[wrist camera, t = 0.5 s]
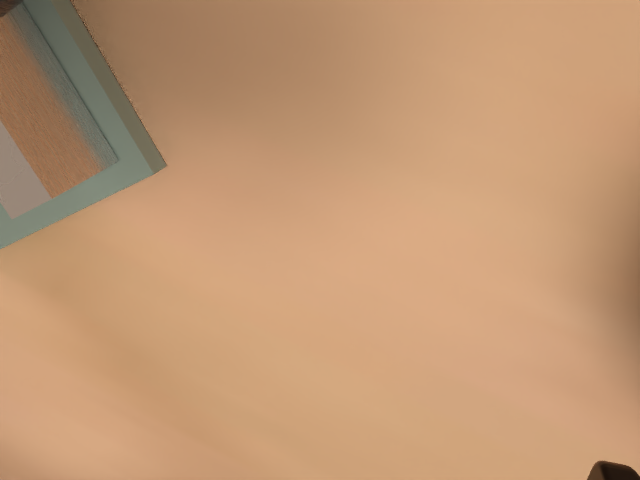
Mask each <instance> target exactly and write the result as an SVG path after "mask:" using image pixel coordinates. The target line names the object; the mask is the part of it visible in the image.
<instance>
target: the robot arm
mask: <svg viewBox="0 0 640 480" xmlns="http://www.w3.org/2000/svg"><path fill="white" fill-rule="evenodd" d="M587 480H640V476H639V475H638V474H637V473H636V471H635V470H633V469H632V468H631V467H629V466H626V465H622V464H617V463H612V462H607V461H598V462H596V463H595V464H594V466H593V468H592V470H591V472H590V474H589V476H588V478H587Z"/></svg>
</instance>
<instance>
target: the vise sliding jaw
mask: <svg viewBox="0 0 640 480" xmlns="http://www.w3.org/2000/svg"><path fill="white" fill-rule="evenodd" d="M23 1H25V0H0V203H1V204H2V206H3V207H4V209H5V210H6V212H7V213H8V214H9V216H10V217H11V219H14V218H16V217H18V216H20V215H22V214H24V213H26V212H27V211H29V210H31V209H33V208H35V207H37V206H39V205H41V204H43V203H45V202H47V201H49V200H51V199H53V198H55V197H56V196H58V195H60V194H62V193H63V192H65V191H67V190H69V189H71V188H72V187H74V186H76V185H78V184H80V183H81V182H83V181H85V180H87V179H88V178H90V177H92V176H94V175H96V174H97V173H99V172H101V171H103V170H104V169H106V168H108V167H110V166H112V165H113V164H115V163H117V162H119V160H118V159H117V157H116V155H115V154H114V152H113V150H112V149H111V147H110V146H109V144H108V142H107V141H106V139H105V137H104V136H103V134H102V132H101V131H100V129H99V128H98V126H97V124H96V123H95V121H94V119H93V118H92V116H91V114H90V113H89V111H88V110H87V108H86V106H85V105H84V103H83V101H82V100H81V98H80V96H79V95H78V93H77V91H76V90H75V88H74V87H73V85H72V83H71V82H70V80H69V78H68V77H67V75H66V73H65V72H64V70H63V69H62V67H61V65H60V64H59V62H58V60H57V59H56V57H55V55H54V54H53V52H52V51H51V49H50V47H49V46H48V44H47V42H46V41H45V39H44V37H43V36H42V34H41V33H40V31H39V29H38V28H37V26H36V24H35V23H34V21H33V19H32V18H31V16H30V14H29V13H28V11H27V10H26V8H25V6H24V5H23V3H22V2H23Z"/></svg>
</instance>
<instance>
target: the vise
mask: <svg viewBox="0 0 640 480" xmlns="http://www.w3.org/2000/svg"><path fill="white" fill-rule="evenodd" d="M22 3H23V5H24V6H25V8H26V10H27V11H28V13H29V14H30V16H31V18H32V19H33V21H34V23H35V24H36V26H37V28H38V29H39V31H40V33H41V34H42V36H43V37H44V39H45V41H46V42H47V44H48V46H49V47H50V49H51V51H52V52H53V54H54V55H55V57H56V59H57V60H58V62H59V64H60V65H61V67H62V69H63V70H64V72H65V73H66V75H67V77H68V78H69V80H70V82H71V83H72V85H73V87H74V88H75V90H76V91H77V93H78V95H79V96H80V98H81V100H82V101H83V103H84V105H85V106H86V108H87V110H88V111H89V113H90V114H91V116H92V118H93V119H94V121H95V123H96V124H97V126H98V128H99V129H100V131H101V132H102V134H103V136H104V137H105V139H106V141H107V142H108V144H109V146H110V147H111V149H112V150H113V152H114V154H115V155H116V157H117V159H118V160H119V162H117V163H115V164H113V165H112V166H110V167H108V168H106V169H104V170H103V171H101V172H99V173H97V174H96V175H94V176H92V177H90V178H88V179H87V180H85V181H83V182H81V183H80V184H78V185H76V186H74V187H72V188H71V189H69V190H67V191H65V192H63V193H62V194H60V195H58V196H56V197H55V198H53V199H51V200H49V201H47V202H45V203H43V204H41V205H39V206H37V207H35V208H33V209H31V210H29V211H27V212H26V213H24V214H22V215H20V216H18V217H16V218H14V219H11V217H10V216H9V214H8V213H7V212H6V210H5V209H4V207H3V206H2V204H1V203H0V249H1V248H4V247H6V246H8V245H10V244H12V243H14V242H16V241H18V240H20V239H22V238H24V237H26V236H28V235H30V234H32V233H34V232H36V231H38V230H40V229H43V228H45V227H47V226H49V225H51V224H53V223H55V222H57V221H59V220H61V219H63V218H65V217H67V216H69V215H71V214H73V213H75V212H77V211H79V210H82V209H84V208H86V207H88V206H90V205H92V204H94V203H96V202H98V201H100V200H102V199H104V198H106V197H108V196H110V195H112V194H114V193H116V192H118V191H121V190H123V189H125V188H127V187H129V186H131V185H133V184H135V183H137V182H139V181H141V180H143V179H145V178H147V177H149V176H151V175H153V174H155V173H157V172H158V171H160V170H161V169H163V168H164V167H166V166H167V165H166V163H165V162H164V160H163V158H162V157H161V155H160V153H159V152H158V150H157V148H156V146H155V145H154V143H153V141H152V140H151V138H150V136H149V134H148V133H147V131H146V129H145V128H144V126H143V124H142V123H141V121H140V119H139V117H138V116H137V114H136V112H135V111H134V109H133V107H132V106H131V104H130V102H129V100H128V99H127V97H126V95H125V94H124V92H123V90H122V88H121V87H120V85H119V83H118V82H117V80H116V78H115V77H114V75H113V73H112V71H111V70H110V68H109V66H108V65H107V63H106V61H105V60H104V58H103V56H102V54H101V53H100V51H99V49H98V48H97V46H96V44H95V43H94V41H93V39H92V37H91V36H90V34H89V32H88V31H87V29H86V27H85V25H84V24H83V22H82V20H81V19H80V17H79V15H78V14H77V12H76V10H75V8H74V7H73V5H72V3H71V2H70V0H25V1H23V2H22Z"/></svg>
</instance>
